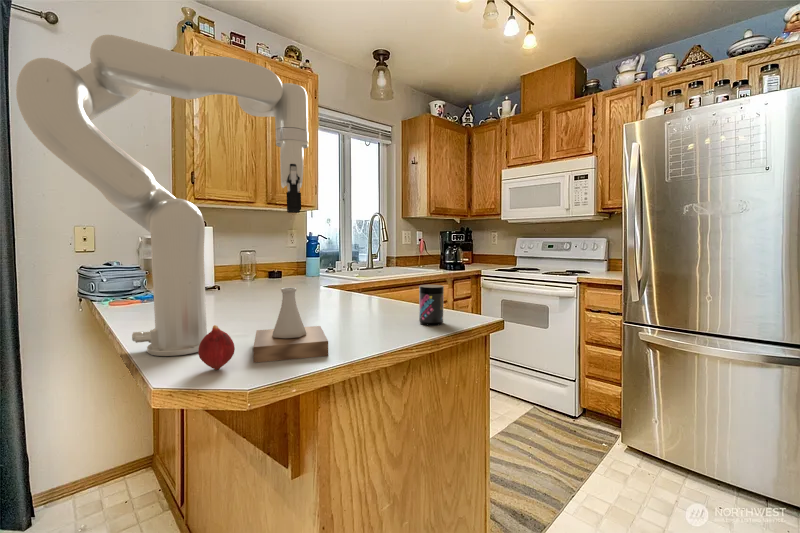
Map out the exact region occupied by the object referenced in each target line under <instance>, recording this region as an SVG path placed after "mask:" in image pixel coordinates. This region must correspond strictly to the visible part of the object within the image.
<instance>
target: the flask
mask: <svg viewBox="0 0 800 533" xmlns="http://www.w3.org/2000/svg"><path fill="white" fill-rule="evenodd" d="M280 291H281V293H282V300H281V306H280V309H279V313H278V316H277V319H276V323H275V325H274V328H273V329H274V331H273V334H272V335H273V337H274V338H297V337H301V336H303V335H306V334H307V333H306V331H305V328H304V327H305V326H304V323H303V320H302V317H301V315H300V312H299V310H298V305H297V300H296V292H297V287H282V288H280Z"/></svg>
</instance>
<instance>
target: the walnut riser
mask: <svg viewBox="0 0 800 533" xmlns="http://www.w3.org/2000/svg"><path fill="white" fill-rule="evenodd" d="M304 328H305V331H306V333H307V334H306V335H303V336H301V337H297V338H274V337H273V335H272V334H273V331H274V328H273V329H272V328H270V329H258V330H256V332H255V335H254V336H255V337H254V342H253V346H252V347H253V350H252V351H253V363H255V364H256V363H264V362H273V361H274V362H275V361H286V360H287V361H288V360H297V359H306V358H318V357H329V340H328V338H327V336H326V334H325V332H324V330H323V328H322V327H321V325H313V326H304Z"/></svg>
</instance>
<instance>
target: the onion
mask: <svg viewBox="0 0 800 533" xmlns="http://www.w3.org/2000/svg"><path fill="white" fill-rule="evenodd" d="M235 349H236V348H235V343H234V340H233V339H232V338H231V336H230V334H228V333H227V332H226V331H223V330H222V329H220V328H219V327H218V325H217V324H214V325H213V326H212V327H211V331H210V332H207V335H206V336H205V337H204V338H203V339H202V341H201V343H200V345H199V351H198V352H197V354H198V356H199V359H200V360H201V362H203V363H204V364H205V365H206V366H208V367H210V368H211V369H213V370H215V371H217V370H219V369H221V368H222V367H223V366H226V364H227V363H228V362H230V360H231V359H232V358H233V356H234V354H235V351H236V350H235Z"/></svg>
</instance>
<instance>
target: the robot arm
mask: <svg viewBox="0 0 800 533" xmlns="http://www.w3.org/2000/svg"><path fill="white" fill-rule="evenodd" d="M89 50H90V52H89V57H90V62H89V63H88V64H86V65H85V66H83V67H80V68H79V69H77V70H75V69H73V67H70V66H69V65H67V64H66V63H64V62H61V61H60V60H58V59H54V58H49V57H38V58H34V59H31V60H30V61H28V62H26V64H25V65H23V67H22V68H21V70H20V72H19V75H18V76H17V81H16V88H15V92H16V93H15V94H16V101H17V106H18V109H19V112H20V114H21V116H22V118H23V120H24V121H25V124H26V125H27V127H28V128H29V130H30V131H31V132H32V134H33V135H34V137H36V139H37V140H38V141H39V142H40V143H41V144H42V145H43V146H44V147H45V148H46V149H47V150H49V152H51V153H52V154H53V155H54V156H55V157H56V158H58V159H59V160H60V161H62V162H63V163H64V164H65V165H66V166H68V167H69V168H70V169H72V170H73V172H75V173H77V174H78V175H79V176H81V178H83V179H84V180H86V181H87V182H88V183H90V184H91V185H92V186H93V187H95V188H96V189H97V190H98V191H99V192H100V193H101V195H103V197H104V198H105V199H106V200H107V201H108V202H109V203H110V204H111V205H113V206H114V207H115V208H116V209H117V210H119V211H121V213H123V214H124V215H125V216H127V217H129V218H130V219H131V220H132V221H134V222H135V223H137V224H138V225H139V226H141V227H142V228H143V229H145V230H146V231H147V232H149V233H150V246H151V247H150V248H151V272H152V273H151V274H152V285H153V286H152V287H153V288H152V289H153V309H154V313H153V314H154V328H153V329H150V330H149V331H133V332H132V334H131V340H132V342H135V343H137V344H138V343H145V342H148V343H149V345H148V346H146V352H147V353H148V355H151V356H156V357H157V356H158V357H159V356H160V357H174V356H184V355H190V354H195V353H198V351H199V345H200V343H201V341H202V339H203V338H204V337H205V336H206V335H207V334H208V332H207V331H208V330H207V326H208V325H207V304H206V281H205V280H206V276H205V275H206V274H205V235H206V232H205V230H206V229H205V226H206V225H205V221H204V220H205V219H204V216H203V214H202V212H201V210H200V209H199V208H198V207H197V206H196V205H195V204H194V203H192V202H190V201H188V200H187V199H184V198H180V197H179V198H177V197H175V196H174V195H173V194H172V193H170V192H169V190H167V189H165V188H164V187H163V186H162V185H161V184H160V183H158V182H157V181H156V178H155V177H154V176H155V175H153V173H152V172H151V171H150V170H149V169H148V168H147V167H146V166H144V165H143V164H142V163H140V162H139V161H137V160H136V159H135V158H133V157H132V156H131V155H130V154H128V153H127V152H126V151H125V150H124V149H122V148H121V147H120V146H119V145H117V143H115V142H114V141H112V140H111V139H110V138H109V137H108V136H107V135H106V134H105V133H104V132H102V131H101V130H100V129H99V128H98V127H97V126H96V125H95V124H94V123H93V122H92V121H93V120H94V119H95V118H98V117H100V116H101V115H103V114H105V113H108V112H109V111H111V110H113V109H115V108H116V107H118V106H120V105H122V104H123V103H125V102H126V101H128V100H130V99H132V98H133V97H134V96H136V95H137V94H138V93H139V92H140V91H142V90H143V91H147V92H152V93H157V94H159V95H165V96H170V97H174V98H178V99H183V100H195V99H201V98H204V97H207V96H213V95H225V96H227V95H228V96H235V97H237V103H238V106H239V107H240V108H241V110H242V111H243V112H244V113H245V114H248V115H250V116H253V117H259V118H260V117H264V118H265V117H267V118H268V117H269V118H270V117H272V118H273V117H274V121H275V123H274V124H275V125H274V126H275V145H276V146H277V147H278V148H280V150H279V151H280V153H279V154H280V155H279V156H280V157H279V162H280V168H279V169H280V186H281V188H282V189H284V188H285V187H286V188H287V192H286V212H287V213H289V214H290V213H291V214H293V213H294V214H299V213H300V212H301V211H302V210H301V209H302V192H301V188H302V185H303V180H304V179H303V178H304V150H305V149H307V148H309V129H308V124H309V123H308V122H309V120H308V118H309V117H308V116H309V115H308V93H307V91H306V89H305V87H303V86H301V85H299V84H296V83H289V82H287V83H286V82H285V83H282V81H281V79H280V78H279V76H278V75H277V74H276V73H275V72H273V71H272V70H271V69H269V68H267V67H265V66H263V65H260V64H256V63H254V62H250V61H246V60H243V59H241V58H240V59H239V58H235V57H229V56H222V55H221V56H219V55H218V56H215V55H214V56H213V55H212V56H211V55H189V54H185V53H180V52H177V51H174V50H169V49H165V48H163V47H158V46H155V45H152V44H148V43H145V42H141V41H138V40H134V39H131V38H127V37H123V36H119V35H114V34H102V35H99V36H97V37H96V38H94V40H93V42H92V44H91V46H90V49H89Z"/></svg>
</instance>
